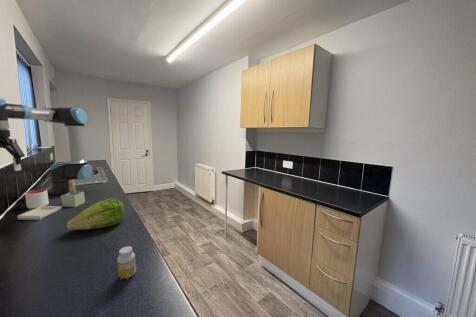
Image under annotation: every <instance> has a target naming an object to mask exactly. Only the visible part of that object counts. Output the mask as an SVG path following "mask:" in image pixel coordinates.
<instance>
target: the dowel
mask: <svg viewBox="0 0 476 317" xmlns="http://www.w3.org/2000/svg"><path fill="white" fill-rule="evenodd" d="M68 182H69V191H70V196H74V195H76V192H77V190H76V191H75V188H76V183H75V179H72V180H69V181H68Z"/></svg>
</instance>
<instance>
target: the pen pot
mask: <svg viewBox="0 0 476 317" xmlns="http://www.w3.org/2000/svg"><path fill="white" fill-rule="evenodd" d="M60 198H61V206H62V208H76V207H78V206H80V205H82V204H84V203H86V199H85V192H84V191H76V195H74V196H70V192H69V193H67V194H63V195H60Z"/></svg>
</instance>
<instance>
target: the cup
mask: <svg viewBox="0 0 476 317" xmlns="http://www.w3.org/2000/svg"><path fill="white" fill-rule="evenodd" d="M48 194H49V193H48V189H45V188H44V189H43V188H41V189H40V188H39V189H33V190H28V191H26V192H25V193H24V197H25V203H26V208H27V209H29V210H33V209H35V208H38V207H40V206H49V195H48Z"/></svg>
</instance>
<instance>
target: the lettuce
mask: <svg viewBox="0 0 476 317" xmlns="http://www.w3.org/2000/svg"><path fill="white" fill-rule="evenodd" d="M124 215H125V207H124V204H123V202H122V201H121V200H119V199H118V198H107V199H103V200H101V201H98V202H96V203H94V204H92V205H91V206H88V207H87V208H86V209H84V210H82V211H81V212H80V213H78V214H77V215H75V217H73V218H71V219H70V220H68V221H67V222H66V227H67V229H68V230H69V231H77V230H78V231H79V230H92V229H93V230H94V229H103V228H107V227H111V226H115V225H117V224H119V223H120V221H122V220H123V219H124V218H123V217H124Z"/></svg>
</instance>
